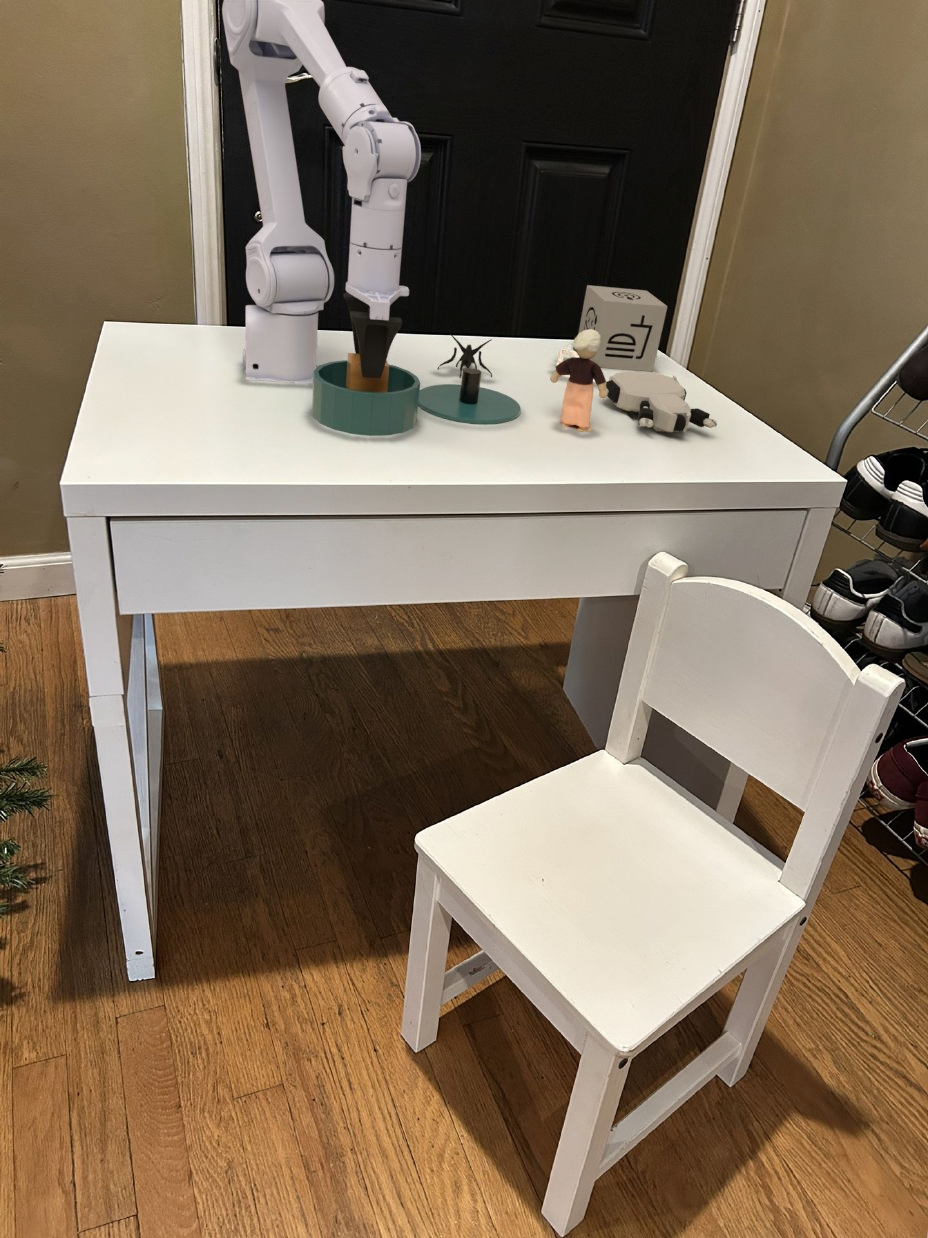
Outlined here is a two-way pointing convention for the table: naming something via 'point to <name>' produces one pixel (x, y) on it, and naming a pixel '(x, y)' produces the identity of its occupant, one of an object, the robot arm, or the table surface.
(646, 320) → the icon cube
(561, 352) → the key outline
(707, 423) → the robot toy
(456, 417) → the pot lid
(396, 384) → the pot
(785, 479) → the table surface
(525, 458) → the table surface
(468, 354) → the creature
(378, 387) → the maple block
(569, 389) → the grandmother figurine
